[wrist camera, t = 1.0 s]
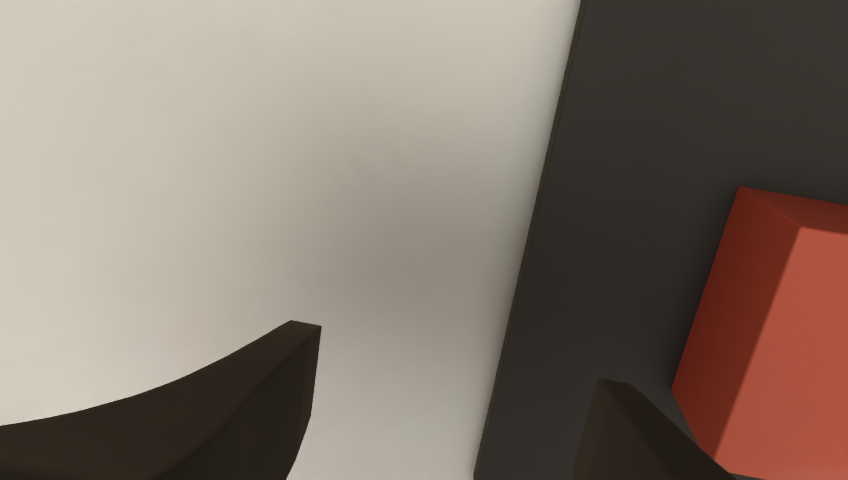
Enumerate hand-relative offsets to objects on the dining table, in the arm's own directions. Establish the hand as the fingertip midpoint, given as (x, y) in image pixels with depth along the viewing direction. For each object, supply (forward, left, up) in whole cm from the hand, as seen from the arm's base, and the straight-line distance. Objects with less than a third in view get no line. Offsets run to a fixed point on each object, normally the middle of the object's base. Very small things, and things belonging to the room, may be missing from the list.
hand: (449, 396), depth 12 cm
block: (0, -10, -8) cm, 13 cm away
